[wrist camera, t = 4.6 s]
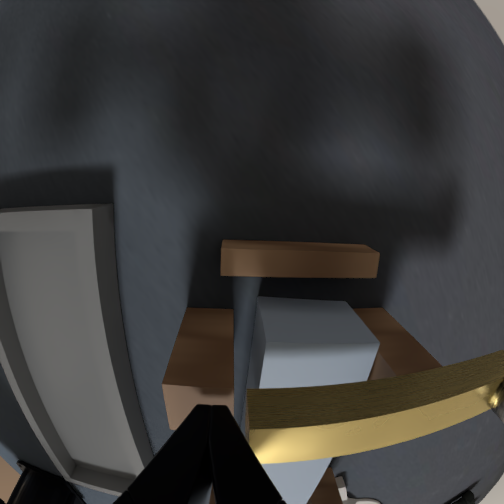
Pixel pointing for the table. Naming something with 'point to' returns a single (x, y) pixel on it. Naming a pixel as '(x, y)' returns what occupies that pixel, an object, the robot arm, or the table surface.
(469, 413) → the bar
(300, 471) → the peg
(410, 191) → the table surface
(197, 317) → the brown wooden stand
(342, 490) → the pliers
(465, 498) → the flashlight
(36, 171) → the table surface
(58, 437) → the tray
